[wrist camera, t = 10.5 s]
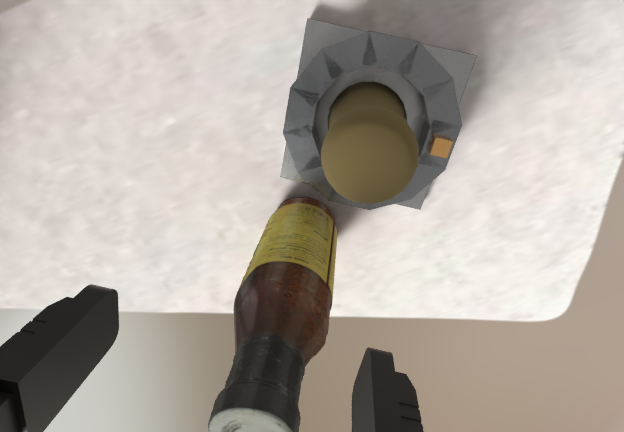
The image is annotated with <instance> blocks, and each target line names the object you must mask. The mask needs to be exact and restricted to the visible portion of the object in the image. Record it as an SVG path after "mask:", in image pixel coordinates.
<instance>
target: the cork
mask: <svg viewBox="0 0 624 432" xmlns="http://www.w3.org/2000/svg"><path fill="white" fill-rule="evenodd" d="M418 158H419V147H418V143H417V139H416V135H415V134H414V132H413V131H412V129H411V128H410V126H409V125H408V123H407V114H406V110H405V107H404V103H403V102H402V100H401V99H400V97H399V96H398V94H397V93H396V92H395V91H393V90H392V89H391V88H389V87H388V86H387V85H384V84H381V83H377V82H374V81H372V82H359V83H356V84H354V85H351V86H349V87H347V88H346V89H345V90H343V91H342V92H341V93H340V94H338V96H337V97H336V99H335V100H334V102H333V103H332V105H331V107H330V111H329V114H328V132H327V134H326V136H325V139H324V142H323V145H322V149H321V165H322V168H323V171H324V174H325V176H326V179H327V181H328V182H329V183H330V185H331V186H332V187H333V188H334V190H335V191H336V192H337V193H339V194H340V195H342V196H343V197H345V198H346V199H348V200H351V201H354V202H358V203H361V204H376V203H380V202H383V201H387V200H390V199H391V198H393V197H394V196H396V195H398V194H399V193H401V192H402V191H403V190H404V189H405V187H406V186H407V185H408V184H409V183H410V182H411V180H412V178H413V175H414V173H415V171H416V168H417V166H418Z"/></svg>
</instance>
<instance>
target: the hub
mask: <svg viewBox="0 0 624 432" xmlns="http://www.w3.org/2000/svg"><path fill="white" fill-rule="evenodd" d="M475 59H476V56H475V55H471V54H466V53H462V52H457V51H453V50H448V49H444V48H439V47H435V46H430V45H426V44H421V43H420V42H418V41H413V40H409V39H404V38H400V37H395V36H391V35H386V34H381V33H377V32H372V31H368V32H367V31H362V30H358V29H353V28H349V27H344V26H340V25H335V24H331V23H326V22H322V21H317V20H313V19H308V18H307V23H306V29H305V35H304V41H303V47H302V53H301V59H300V65H299V70H298V76H297V80H296V81H295V82H294V83H293V85H292V86H291V87H290V94H289V100H288V106H287V112H286V118H285V124H284V130H283V134H284V137H285V139H286V147H285V153H284V159H283V164H282V170H281V176H280V177H281V178H286V179H290V180H294V181H299V182H303V183H307V184H311V185H312V186H313V187H314V188H315V189H316V190H317V191H319V192H320V193H321V194H322V195H323V196H324V197H326V198H327V199H328V200H329V201H333V202H337V203H342V204H346V205H350V206H355V207H359V208H363V209H368V210H371V209H375V208H379V207H383V206H387V205H391V204H398V205H402V206H407V207H411V208H415V209H421V206H422V204H423V201H424V198H425V195H426V193H427V190H428V187H429V185H430V183H431V182H432V181H433V180H434V179H435V178H436V177H437V176H439V175H440V174H441V173H442V172H443V171H444V170H445V169H446V166H447V163H448V161H449V158H450V155H451V153H452V150H453V148H454V145H455V142H456V140H457V137H458V134H459V132H460V129H461V126H462V124H461V119H460V113H459V107H458V105H459V102H460V100H461V97H462V94H463V91H464V89H465V86H466V83H467V81H468V78H469V75H470V72H471V70H472V67H473V64H474V61H475ZM372 81H374V82H377V83H381V84H384V85H387V86H388V87H389V88H391V89H392V90H393V91H395V92H396V93H397V94H398V96H399V97H400V99H401V100H402V102H403V103H404V107H405V110H406V114H407V123H408V125H409V126H410V128H411V129H412V131H413V132H414V134H415V135H416V139H417V143H418V147H419V158H418V166H417V168H416V171H415V173H414V175H413V178H412V180H411V182H410V183H409V184H408V185H407V186H406V187H405V189H404V190H403V191H402V192H401V193H399V194H398V195H396V196H394V197H393V198H391V199H390V200H387V201H383V202H380V203H376V204H361V203H358V202H354V201H351V200H348V199H346V198H345V197H343V196H342V195H340V194H339V193H337V192H336V191H335V190H334V188H333V187H332V186H331V185H330V183H329V182H328V181H327V179H326V176H325V174H324V171H323V168H322V165H321V149H322V145H323V142H324V139H325V136H326V134H327V132H328V114H329V111H330V107H331V105H332V103H333V102H334V100H335V99H336V97H337V96H338V94H340V93H341V92H342V91H343V90H345V89H346V88H347V87H349V86H351V85H354V84H356V83H359V82H372Z"/></svg>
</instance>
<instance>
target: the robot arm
mask: <svg viewBox="0 0 624 432" xmlns="http://www.w3.org/2000/svg"><path fill="white" fill-rule="evenodd" d="M118 330H119V314H118V293H117V291H116V290H114V289H109V288H105V287H101V286H96V285H88V286H87V287H85V288H84V289H83V290H82V291H81V292H80V293H79V294H77V295H76V296H75V297H74V298H69V297H66V298H64V299H62V300H60V301H58V302H56V303H53V304H51V305H49V306H47V307H46V308H45V309H44V310H43V311H42V312H40V313H39V314H38V315H37V316H36V317H35V318H33V321H32V322H31V321H30V322H29V323H28V324H26V325H25V326H24V327H23V328H22V329H21V331H20V332H17V333H16V334H15V335H13V336H12V337H11V338H10V339H9V340H7V341H6V342H5V343H4V344H3V345H2V346H1V347H0V432H43V431H44V430H45V429H46V428H47V426H48V425H49V424H50V423H51V421H52V420H53V419H54V418H55V416H56V415H57V414H58V413H59V411H60V410H61V409H62V408H63V406H64V405H65V404H66V403H67V401H68V400H69V399H70V398H71V396H72V395H73V394H74V393H75V391H76V390H77V389H78V388H79V386H80V385H81V384H82V383H83V381H84V380H85V379H86V378H87V376H88V375H89V374H90V372H92V370H93V369H94V368H95V366H96V365H97V364H98V363H99V362H100V360H101V359H102V358H103V357H104V355H105V354H106V353H107V352H108V350H109V349H110V348H111V346H112V345H113V343H114V341H115V339H116V337H117V334H118ZM418 408H419V406H418V401H417V395H416V390H415V388H414V386H413V385H412V383H411V381H410V380H409V378H408V376H407V375H406V374H403V373H399V372H395V369H394V361H393V356H392V353H390V352H386V351H382V350H377V349H373V348H367V349H366V352H365V354H364V357H363V360H362V363H361V366H360V369H359V371H358V374H357V377H356V380H355V383H354V388H353V394H352V432H423V426H422V424H421V416H420V411H419V410H418Z"/></svg>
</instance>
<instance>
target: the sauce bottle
mask: <svg viewBox="0 0 624 432" xmlns="http://www.w3.org/2000/svg"><path fill="white" fill-rule="evenodd" d="M336 245H337V229H336V225H335V221H334V216H333V214H332V213H331V212H330V210H329V209H328V208H327V207H326V206H325V205H323V204H321V203H320V202H318V201H317V200H314V199H311V198H305V197H301V198H293V199H290V200H287V201H285V202H284V203H282V204H281V205H280V206H279V207H278V209H277V210H276V211H275V212H274V213H273V215H272V216H271V217H270V219H269V221H268V223H267V225H266V228H265V230H264V232H263V235H262V237H261V239H260V242H259V244H258V245H257V248H256V250H255V252H254V255H253V258H252V260H251V262H250V265H249V267H248V269H247V272H246V274H245V276H244V278H243V280H242V283H241V285H240V288H239V290H238V292H237V295H236V298H235V302H234V329H235V356H234V360H233V366H232V369H231V371H230V374H229V377H228V379H227V381H226V385H225V388H224V389H223V390H222V391H221V392H220V394H219V395H218V397H217V399H216V400H215V403H214V407H213V410H212V413H211V417H210V420H209V424H208V428H209V432H298V431H299V425H300V412H299V409H298V401H299V394H300V388H301V381H302V379H303V376H304V371H305V366H306V365H307V363H308V362H309V361H310V359H311V358H312V357H313V356H315V355H316V354H317V353H318V352H319V351H320V350H321V348H322V347H323V346H324V344H325V340H326V336H327V334H328V326H329V314H330V310H331V306H332V298H333V285H334V270H335V258H336Z"/></svg>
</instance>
